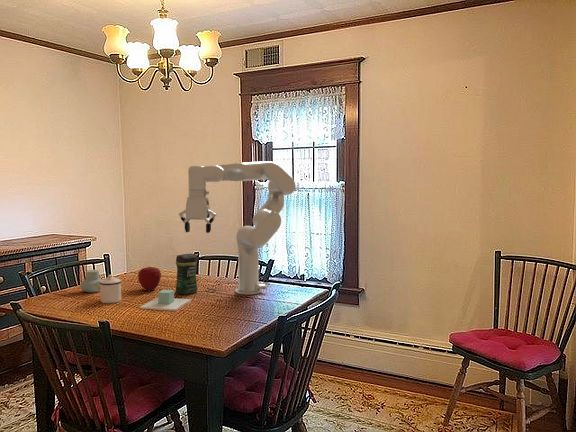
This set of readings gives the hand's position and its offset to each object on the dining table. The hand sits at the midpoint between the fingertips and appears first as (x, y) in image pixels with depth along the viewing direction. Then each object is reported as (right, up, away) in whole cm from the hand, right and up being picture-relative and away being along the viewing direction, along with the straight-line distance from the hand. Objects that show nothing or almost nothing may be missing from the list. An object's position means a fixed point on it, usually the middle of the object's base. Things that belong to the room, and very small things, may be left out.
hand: (197, 232), depth 223 cm
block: (-12, -30, -7) cm, 33 cm away
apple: (-27, -29, +21) cm, 44 cm away
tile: (-12, -31, -7) cm, 34 cm away
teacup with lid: (-40, -31, 0) cm, 50 cm away
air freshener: (-53, -29, +17) cm, 63 cm away
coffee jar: (-8, -29, +15) cm, 34 cm away
